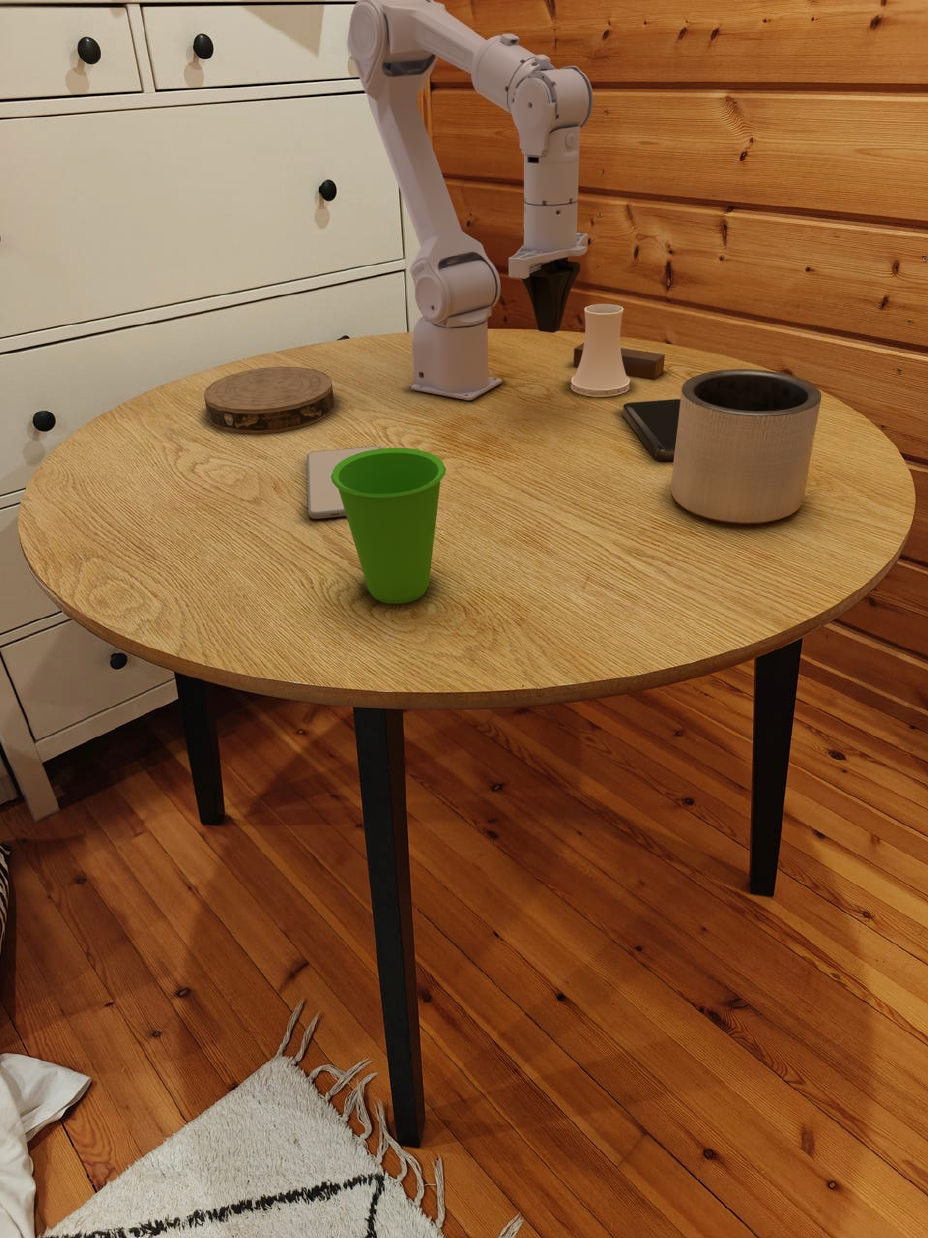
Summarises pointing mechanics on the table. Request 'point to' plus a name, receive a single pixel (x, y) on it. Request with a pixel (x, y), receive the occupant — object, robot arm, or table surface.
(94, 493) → the table surface
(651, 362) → the bar
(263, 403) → the wood slice
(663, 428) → the black beveled tile
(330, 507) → the smartphone
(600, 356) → the vase
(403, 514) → the cup
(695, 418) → the planter
